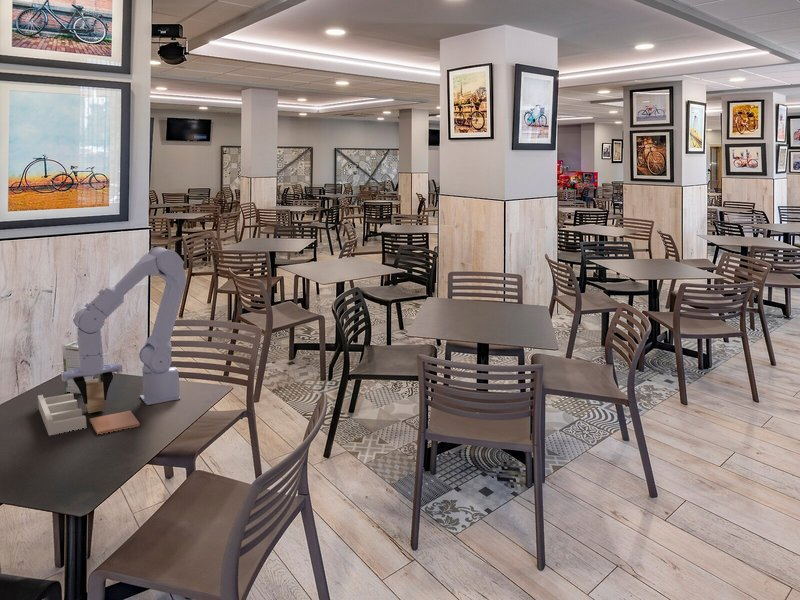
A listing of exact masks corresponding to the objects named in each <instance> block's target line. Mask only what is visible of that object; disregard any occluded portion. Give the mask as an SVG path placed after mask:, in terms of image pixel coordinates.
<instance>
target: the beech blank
mask: <svg viewBox="0 0 800 600" xmlns="http://www.w3.org/2000/svg"><path fill="white" fill-rule="evenodd" d="M85 382H86V395H87V404H85V409H86V411H87V412H88V414H92V413H97V412H103V411H106V406H105V404H106V403H105V402H106V401H105V400H104V389H103V382H102V380H101V378H100V377H98V378H94V379H91V380H85Z"/></svg>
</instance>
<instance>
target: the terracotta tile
mask: <svg viewBox="0 0 800 600" xmlns="http://www.w3.org/2000/svg"><path fill="white" fill-rule="evenodd" d="M89 422H90V424H92V425H91V426H92V427H93V430H94V432H95V433H97V434H96V436H99V435H98V434H101V435H104V434H103V433H105V434H109V433H108V432H110V433H113V431H115V432H118V430H119V431H123V430H122V429H124V430H128V428H129V429H132V428H138V427H140V426H141V425H140V422H139V420H138V419H137V418H136V416H135V415H134V414H133V412H132V411H131V410H127V411H122V412H117V413H111V414H105V415H101V416H96V417H92V418H89Z"/></svg>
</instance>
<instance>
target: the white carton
mask: <svg viewBox="0 0 800 600" xmlns="http://www.w3.org/2000/svg"><path fill="white" fill-rule="evenodd" d="M61 348H62V360H63V372H67V371H71V370H75V369H79V368H80V361H79V350H78V340H77V341H76V340H75V341H72V342H71V343H70V342H69V343H68V344H65V345H63V346H61ZM84 379H85V380H91V379H95V376H88V377H84ZM64 389H65V393H67V392H70V393H73V394H79V395H80V394H81V392H80V390H79V388H78V387H77V385H76V384H75V382H74V380H73V379H70V380H67V381H64ZM70 393H69V394H70Z"/></svg>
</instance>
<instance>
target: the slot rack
mask: <svg viewBox="0 0 800 600" xmlns="http://www.w3.org/2000/svg"><path fill="white" fill-rule="evenodd" d="M74 395H75V394H74V393H65V394H59V395H54V396H48V397H44V394H39V395H37V401H38V402H37V403H38V410H39V413H40V415H41V418H42V422H43V424H44V427H45V429H46V432H47V434H48V436H49V437H50V436H54V435H59V433H60V434H64V432H65V433H68V432H69V431H70V432H73V431H72V430H74V431H79V430H83V429H82V428H84V429H87V428H88V427H87V417H86V415H83V410H82V408H78V400H77V399H75V397H74ZM78 429H79V430H78Z"/></svg>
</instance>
